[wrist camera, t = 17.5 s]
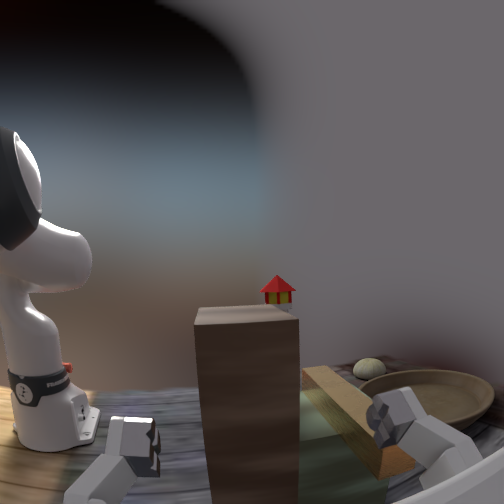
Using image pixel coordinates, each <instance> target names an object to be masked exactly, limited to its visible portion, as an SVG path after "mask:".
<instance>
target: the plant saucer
mask: <svg viewBox="0 0 504 504" xmlns="http://www.w3.org/2000/svg"><path fill="white" fill-rule="evenodd" d="M404 387H410V388H411V389H412V391H413V392H414V394H415V396H416V397H417V399H418V401H419V402H420V404H421V406H422V407H423V409H424V411H425V412H426V414H427V416H428V415H431V416H433V417H435V418H437V419H438V420H440V421H442V422H444V423H445V424H447V425H449V426H451V427H453V428H454V429H456V430H458V431H461V430H463V429H465V428H467V427H468V426H470V425H471V424H473V423H474V422H475V421H476V420H477V419H479V418H480V417H481V416H482V415H483V414H485V413H486V411H487V410H488V409H489V408H490V406H491V405H492V403H493V401H494V397H495V393H494V390H493V388H492V386H491V385H490V384H489V383H487V382H486V381H484V380H483V379H481V378H479V377H475V376H473V375H470V374H466V373H461V372H455V371H447V370H410V371H401V372H395V373H390V374H386V375H382V376H379V377H376V378H373V379H371V380H369V381H367V382H365V383H364V384H362V385H361V386H360V387H359V388H358V389H359V390H360V391H362V392H363V393H364V394H366V395H367V396H368V397H370V398H371V399H373V397H374V396H375V395H377V394H381V393H385V392H388V391H392V390H396V389H400V388H404Z"/></svg>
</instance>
